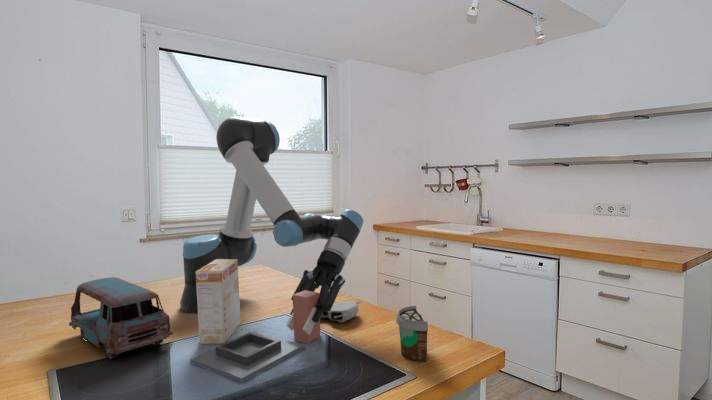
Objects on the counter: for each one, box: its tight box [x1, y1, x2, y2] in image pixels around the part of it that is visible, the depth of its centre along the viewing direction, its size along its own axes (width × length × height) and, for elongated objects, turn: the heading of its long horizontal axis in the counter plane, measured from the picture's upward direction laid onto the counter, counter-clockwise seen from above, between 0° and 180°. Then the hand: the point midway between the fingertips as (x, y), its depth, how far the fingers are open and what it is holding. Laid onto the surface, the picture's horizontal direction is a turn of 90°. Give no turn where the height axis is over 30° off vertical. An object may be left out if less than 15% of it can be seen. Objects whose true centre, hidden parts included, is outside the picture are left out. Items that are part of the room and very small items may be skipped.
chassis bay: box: [189, 330, 305, 384], centre depth 103 cm, size 18×20×3 cm
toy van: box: [68, 277, 174, 360], centre depth 114 cm, size 16×32×15 cm, turn 49°
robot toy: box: [320, 300, 362, 324], centre depth 129 cm, size 12×4×15 cm
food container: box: [395, 305, 429, 363], centre depth 102 cm, size 12×6×10 cm, turn 5°
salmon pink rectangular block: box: [292, 290, 321, 343], centre depth 113 cm, size 5×5×12 cm
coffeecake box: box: [195, 259, 242, 345], centre depth 118 cm, size 15×7×20 cm, turn 178°
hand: (297, 330), depth 111 cm, fingers closed on salmon pink rectangular block, 5 cm apart
